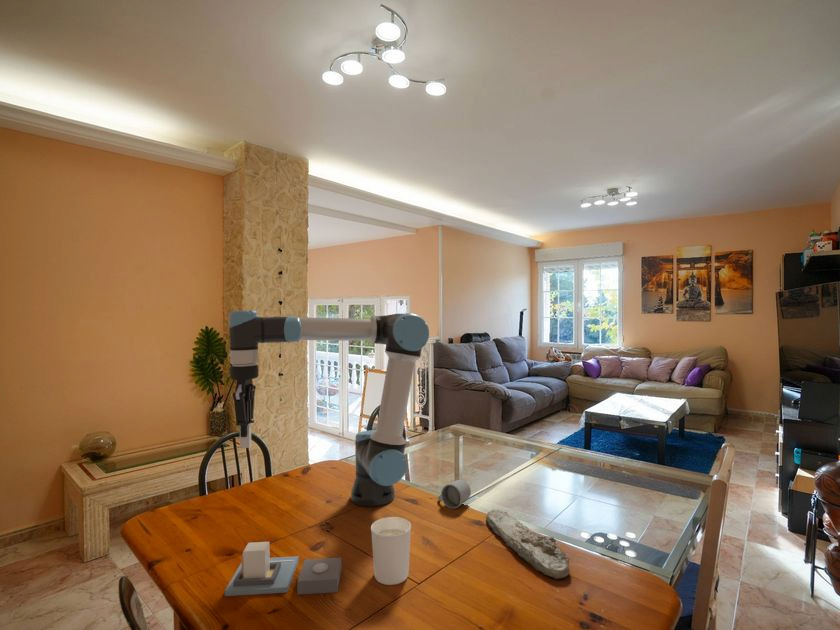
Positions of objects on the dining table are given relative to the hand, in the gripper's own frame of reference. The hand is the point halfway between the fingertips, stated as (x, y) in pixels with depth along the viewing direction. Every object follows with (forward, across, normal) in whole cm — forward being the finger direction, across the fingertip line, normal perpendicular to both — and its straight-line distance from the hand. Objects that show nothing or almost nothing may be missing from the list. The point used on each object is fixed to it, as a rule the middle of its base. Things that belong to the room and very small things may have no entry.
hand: (245, 447), depth 125 cm
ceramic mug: (+27, -18, +62) cm, 70 cm away
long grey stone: (+27, +10, +77) cm, 82 cm away
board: (+26, +19, +10) cm, 34 cm away
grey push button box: (+26, +22, +24) cm, 42 cm away
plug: (+25, +20, +9) cm, 34 cm away
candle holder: (+27, +21, +41) cm, 53 cm away
